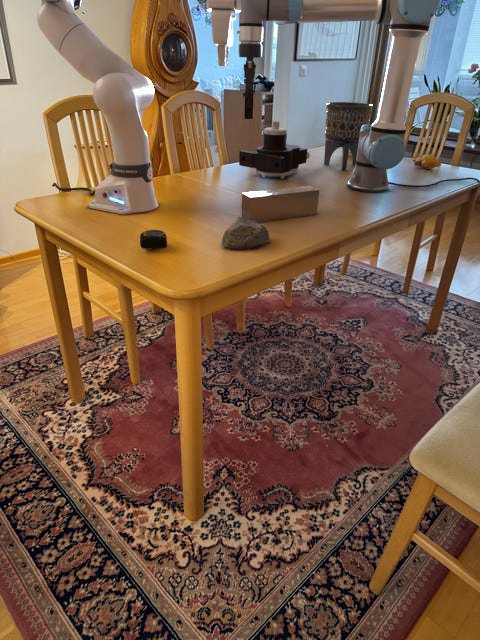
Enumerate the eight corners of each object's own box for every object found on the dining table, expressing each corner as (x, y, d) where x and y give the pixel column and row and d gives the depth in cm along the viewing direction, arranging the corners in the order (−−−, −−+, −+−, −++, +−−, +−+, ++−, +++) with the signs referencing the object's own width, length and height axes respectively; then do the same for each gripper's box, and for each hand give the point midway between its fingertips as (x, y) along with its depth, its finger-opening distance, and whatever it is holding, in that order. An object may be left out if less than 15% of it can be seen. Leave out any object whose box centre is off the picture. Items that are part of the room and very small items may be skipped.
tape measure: (140, 252, 115) (139, 238, 113) (141, 242, 120) (140, 229, 119) (167, 251, 116) (166, 237, 114) (167, 241, 121) (166, 228, 120)
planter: (313, 167, 208) (319, 103, 195) (331, 160, 222) (338, 101, 209) (353, 173, 199) (362, 107, 185) (369, 166, 213) (379, 104, 199)
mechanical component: (240, 120, 182) (283, 115, 202) (239, 174, 192) (280, 164, 212) (283, 126, 170) (325, 120, 190) (280, 183, 180) (320, 171, 200)
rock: (255, 233, 128) (256, 211, 124) (276, 242, 122) (278, 219, 119) (217, 244, 120) (217, 220, 117) (239, 254, 115) (239, 230, 111)
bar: (307, 209, 151) (309, 185, 147) (317, 214, 146) (319, 189, 142) (241, 218, 141) (241, 192, 137) (249, 223, 137) (250, 197, 133)
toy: (415, 162, 205) (409, 155, 218) (417, 175, 208) (411, 168, 221) (441, 154, 202) (433, 147, 215) (443, 168, 205) (435, 160, 218)
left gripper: (215, 6, 124) (215, 64, 131) (207, -2, 106) (207, 66, 113) (238, 7, 123) (237, 65, 130) (233, -1, 106) (232, 66, 113)
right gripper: (239, 43, 154) (238, 112, 164) (237, 41, 132) (236, 120, 143) (261, 44, 154) (258, 112, 164) (263, 42, 132) (260, 121, 143)
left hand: (223, 65), depth 122 cm, fingers open, 8 cm apart
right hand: (248, 116), depth 153 cm, fingers open, 13 cm apart
